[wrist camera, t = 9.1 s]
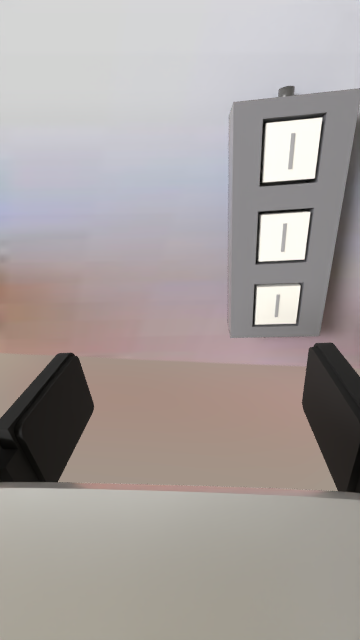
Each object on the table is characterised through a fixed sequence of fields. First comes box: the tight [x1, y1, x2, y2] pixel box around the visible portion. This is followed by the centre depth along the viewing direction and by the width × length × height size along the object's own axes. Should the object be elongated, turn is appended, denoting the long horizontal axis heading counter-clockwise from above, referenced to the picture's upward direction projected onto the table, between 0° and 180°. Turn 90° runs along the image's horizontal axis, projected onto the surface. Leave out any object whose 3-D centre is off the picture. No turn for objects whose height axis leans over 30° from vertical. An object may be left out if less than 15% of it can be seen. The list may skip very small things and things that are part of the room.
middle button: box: [256, 210, 310, 262], centre depth 25 cm, size 4×4×3 cm
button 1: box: [253, 283, 301, 325], centre depth 27 cm, size 4×4×3 cm
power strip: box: [227, 86, 360, 338], centre depth 25 cm, size 21×9×4 cm, turn 4°
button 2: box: [260, 118, 322, 183], centre depth 22 cm, size 4×4×3 cm
